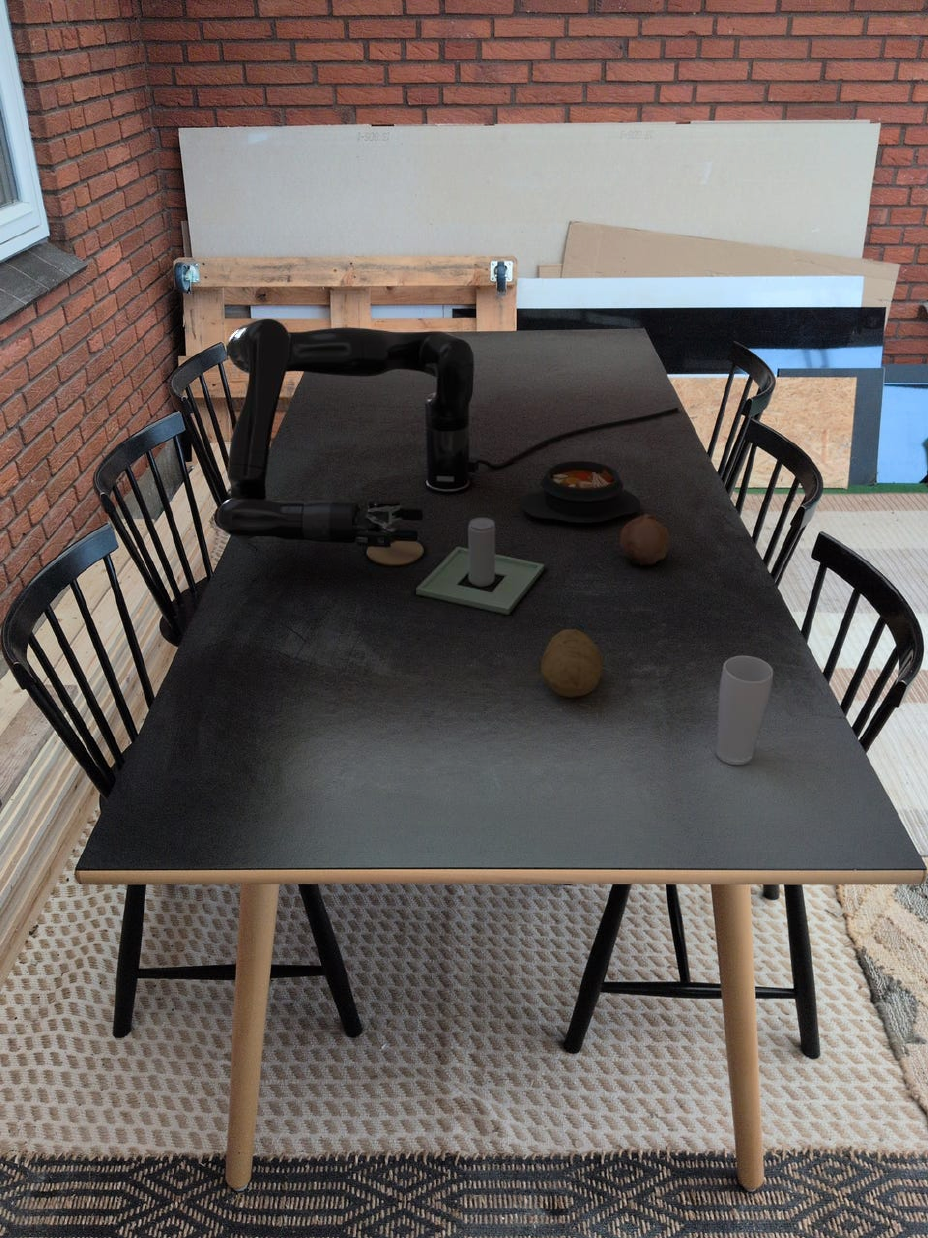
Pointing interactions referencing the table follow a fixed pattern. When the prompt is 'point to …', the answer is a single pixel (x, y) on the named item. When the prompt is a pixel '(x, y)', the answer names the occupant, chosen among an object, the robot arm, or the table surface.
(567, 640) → the potato
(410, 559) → the coaster
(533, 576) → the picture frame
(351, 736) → the table surface
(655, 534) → the onion
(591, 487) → the casserole
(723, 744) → the drinking glass
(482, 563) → the beverage can
